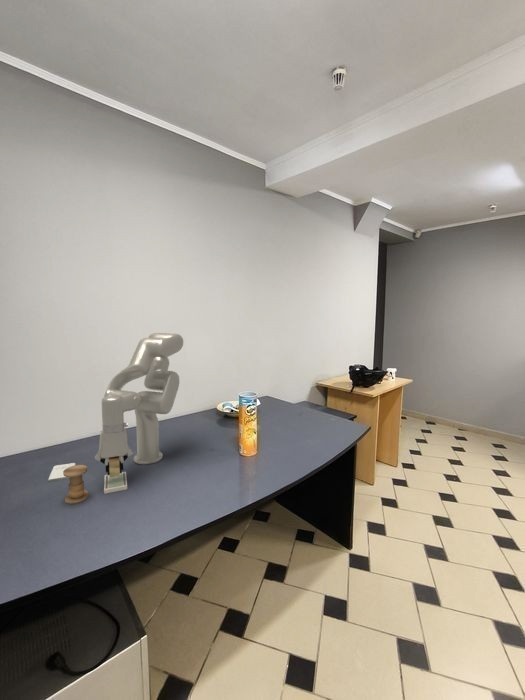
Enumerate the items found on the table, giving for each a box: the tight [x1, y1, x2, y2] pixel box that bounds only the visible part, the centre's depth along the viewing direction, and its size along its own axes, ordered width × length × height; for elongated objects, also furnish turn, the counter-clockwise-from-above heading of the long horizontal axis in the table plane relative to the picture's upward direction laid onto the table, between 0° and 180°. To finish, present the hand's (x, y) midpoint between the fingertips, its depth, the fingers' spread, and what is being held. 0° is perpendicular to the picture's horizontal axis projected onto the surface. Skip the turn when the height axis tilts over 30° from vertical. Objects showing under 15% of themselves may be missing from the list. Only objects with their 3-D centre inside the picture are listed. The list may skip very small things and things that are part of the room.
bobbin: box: [63, 464, 90, 505], centre depth 121 cm, size 8×8×11 cm
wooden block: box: [109, 456, 120, 477], centre depth 130 cm, size 4×4×7 cm
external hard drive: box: [47, 462, 76, 483], centre depth 139 cm, size 2×8×12 cm
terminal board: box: [103, 471, 128, 495], centre depth 132 cm, size 12×8×2 cm, turn 24°
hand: (114, 472), depth 131 cm, fingers closed on wooden block, 3 cm apart
